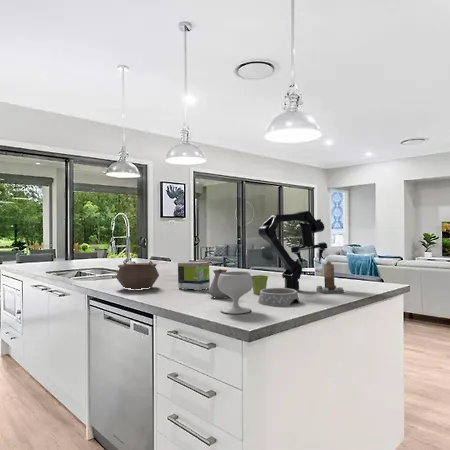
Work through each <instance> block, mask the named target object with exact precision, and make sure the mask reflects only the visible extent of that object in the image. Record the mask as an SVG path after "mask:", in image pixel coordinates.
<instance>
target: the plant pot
mask: <svg viewBox="0 0 450 450" xmlns="http://www.w3.org/2000/svg"><path fill="white" fill-rule="evenodd" d="M251 277H252V280H253V287H252V291H253V294H255V295H260V291H261V290H263V289H267V286H268V285H267V283H268V279H269V275H265V274H264V275H262V274H257V275H256V274H255V275H251Z"/></svg>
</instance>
